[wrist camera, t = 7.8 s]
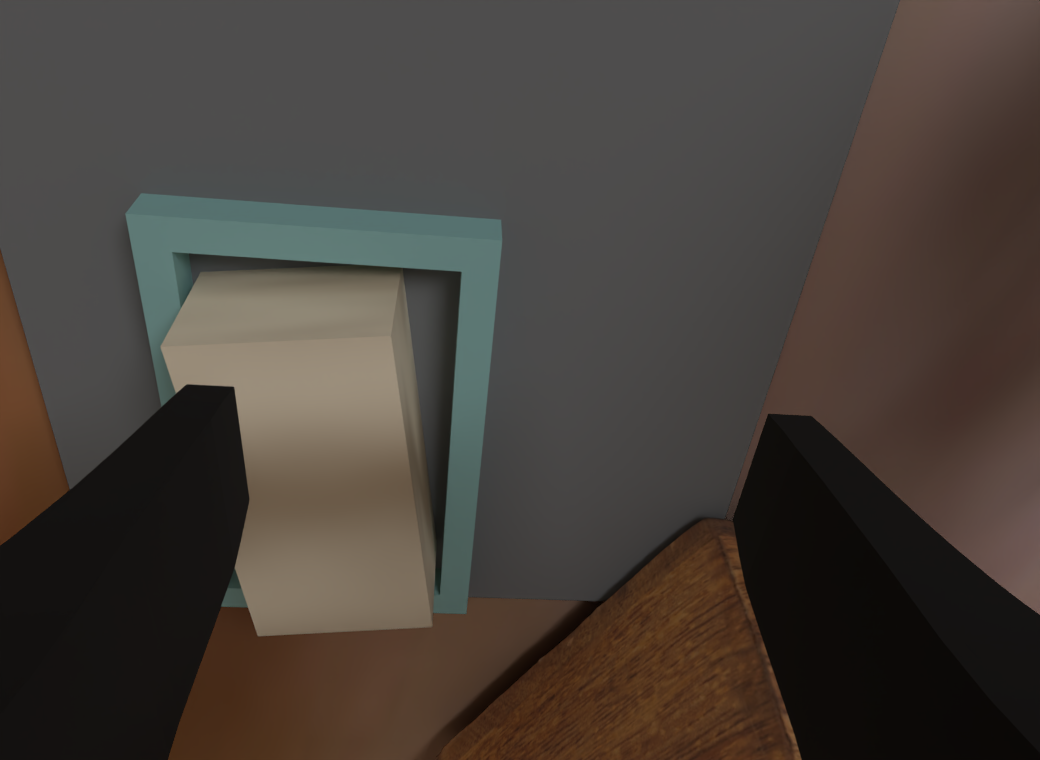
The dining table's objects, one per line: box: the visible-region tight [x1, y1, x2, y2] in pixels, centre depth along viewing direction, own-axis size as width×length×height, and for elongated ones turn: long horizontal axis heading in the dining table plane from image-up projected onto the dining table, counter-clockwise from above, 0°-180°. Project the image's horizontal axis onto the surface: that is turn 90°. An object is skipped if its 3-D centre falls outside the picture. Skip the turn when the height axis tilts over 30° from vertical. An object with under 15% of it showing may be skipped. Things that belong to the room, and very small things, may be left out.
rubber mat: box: [0, 0, 900, 601], centre depth 20 cm, size 18×20×1 cm
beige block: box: [160, 265, 437, 636], centre depth 20 cm, size 9×4×3 cm, turn 2°
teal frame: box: [125, 193, 502, 614], centre depth 21 cm, size 8×12×1 cm, turn 174°
